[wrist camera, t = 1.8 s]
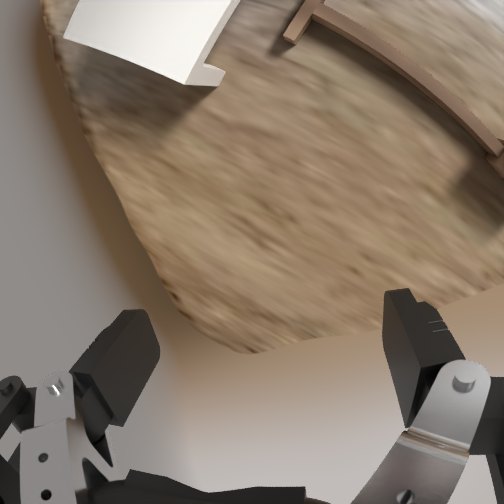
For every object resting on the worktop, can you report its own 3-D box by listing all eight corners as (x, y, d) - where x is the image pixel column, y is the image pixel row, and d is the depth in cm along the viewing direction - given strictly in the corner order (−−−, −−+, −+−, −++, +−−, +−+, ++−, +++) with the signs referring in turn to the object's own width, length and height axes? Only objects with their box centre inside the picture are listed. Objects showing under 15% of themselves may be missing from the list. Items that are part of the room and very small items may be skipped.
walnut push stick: (324, -19, 19) (326, -46, 13) (546, 172, 21) (578, 191, 16) (285, 39, 22) (277, 24, 17) (514, 221, 25) (543, 247, 19)
